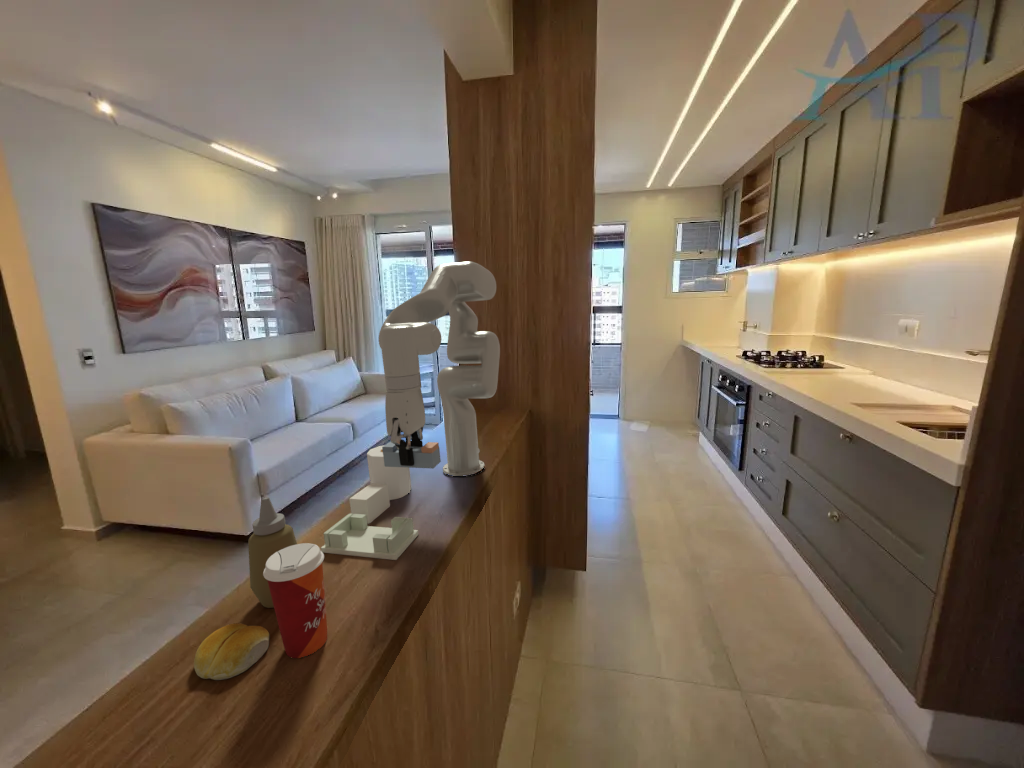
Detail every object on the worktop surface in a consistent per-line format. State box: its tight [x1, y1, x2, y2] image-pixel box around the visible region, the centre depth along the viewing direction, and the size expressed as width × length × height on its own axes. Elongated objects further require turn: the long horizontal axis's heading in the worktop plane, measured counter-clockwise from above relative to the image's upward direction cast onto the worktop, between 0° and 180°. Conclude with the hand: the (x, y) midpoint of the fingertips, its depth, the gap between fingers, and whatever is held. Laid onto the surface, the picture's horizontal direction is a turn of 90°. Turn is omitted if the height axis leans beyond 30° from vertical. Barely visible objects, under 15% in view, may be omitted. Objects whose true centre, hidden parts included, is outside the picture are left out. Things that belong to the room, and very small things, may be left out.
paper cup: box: [263, 542, 328, 659], centre depth 60 cm, size 8×8×14 cm
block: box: [348, 483, 391, 525], centre depth 100 cm, size 9×4×6 cm, turn 165°
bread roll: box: [193, 622, 270, 681], centre depth 59 cm, size 8×9×4 cm
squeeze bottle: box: [247, 497, 298, 609], centre depth 70 cm, size 8×8×18 cm
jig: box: [320, 512, 419, 561], centre depth 87 cm, size 10×17×4 cm, turn 76°
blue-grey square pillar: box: [382, 441, 442, 469], centre depth 94 cm, size 4×12×5 cm, turn 76°
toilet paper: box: [366, 444, 412, 501], centre depth 111 cm, size 10×10×12 cm
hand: (412, 460), depth 94 cm, fingers closed on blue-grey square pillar, 4 cm apart
